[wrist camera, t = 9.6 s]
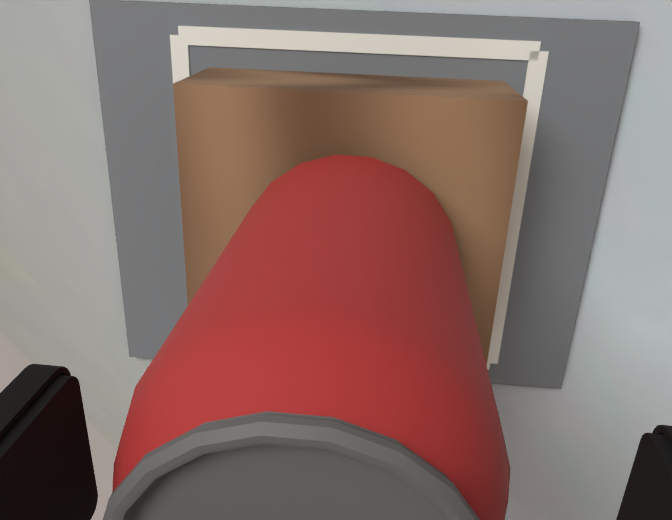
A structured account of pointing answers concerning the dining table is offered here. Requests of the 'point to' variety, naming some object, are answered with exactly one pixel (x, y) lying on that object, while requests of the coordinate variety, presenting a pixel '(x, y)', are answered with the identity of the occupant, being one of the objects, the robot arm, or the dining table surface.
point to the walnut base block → (350, 153)
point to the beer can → (322, 368)
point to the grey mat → (373, 59)
